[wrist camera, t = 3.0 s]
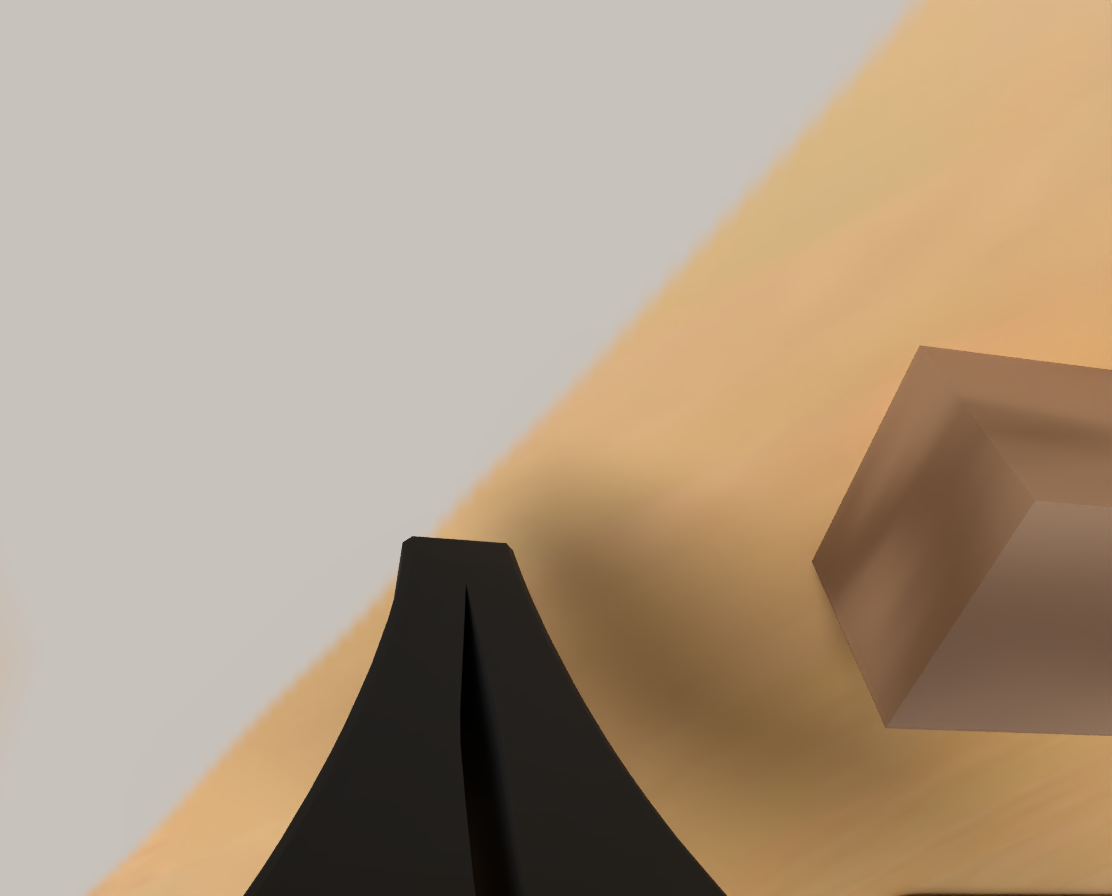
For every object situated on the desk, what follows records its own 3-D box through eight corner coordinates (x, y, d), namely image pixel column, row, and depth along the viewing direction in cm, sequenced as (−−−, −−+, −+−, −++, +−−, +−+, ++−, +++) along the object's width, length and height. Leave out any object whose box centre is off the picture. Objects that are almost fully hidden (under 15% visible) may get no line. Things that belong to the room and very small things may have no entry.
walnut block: (1031, 573, 20) (1143, 737, 17) (809, 556, 19) (885, 727, 16) (1170, 373, 17) (1336, 528, 14) (916, 341, 16) (1035, 500, 13)
